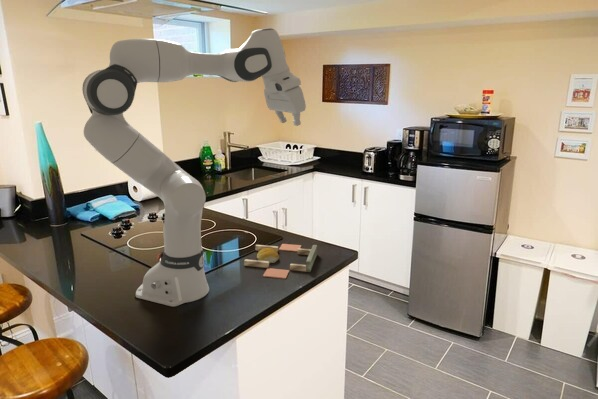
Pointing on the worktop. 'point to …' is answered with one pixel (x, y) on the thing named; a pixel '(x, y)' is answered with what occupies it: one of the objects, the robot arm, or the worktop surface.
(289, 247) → the trap pads
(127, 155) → the robot arm
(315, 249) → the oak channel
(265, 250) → the bread roll
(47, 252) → the worktop surface
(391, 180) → the worktop surface
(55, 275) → the worktop surface
